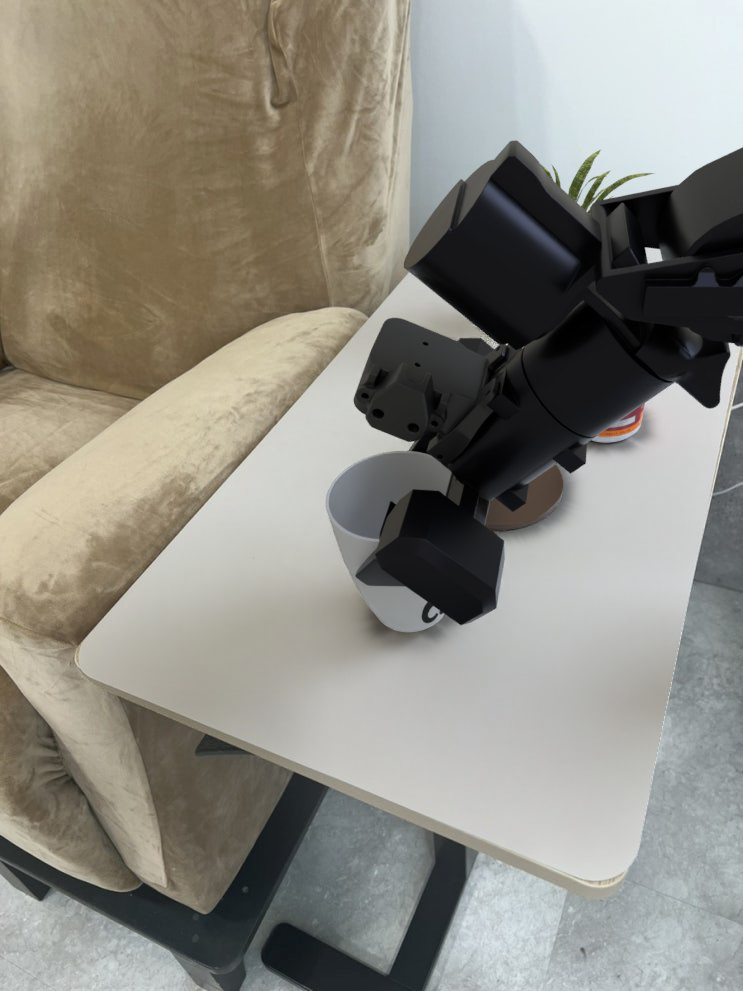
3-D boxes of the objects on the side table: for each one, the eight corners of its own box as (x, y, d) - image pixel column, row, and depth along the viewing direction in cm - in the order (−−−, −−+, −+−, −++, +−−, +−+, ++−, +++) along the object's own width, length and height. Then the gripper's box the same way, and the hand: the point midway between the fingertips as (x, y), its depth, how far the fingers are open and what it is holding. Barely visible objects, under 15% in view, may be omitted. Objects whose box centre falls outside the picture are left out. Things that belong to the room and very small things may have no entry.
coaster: (565, 450, 64) (565, 445, 63) (560, 535, 56) (560, 530, 56) (446, 444, 66) (445, 440, 66) (426, 525, 59) (426, 520, 58)
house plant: (625, 283, 83) (643, 123, 73) (645, 349, 73) (670, 176, 63) (493, 290, 86) (491, 136, 75) (494, 356, 75) (493, 189, 65)
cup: (446, 665, 48) (432, 554, 41) (332, 633, 51) (301, 526, 44) (486, 572, 53) (479, 461, 47) (380, 549, 56) (359, 442, 50)
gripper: (471, 204, 42) (319, 370, 53) (396, 399, 29) (213, 570, 39) (610, 331, 45) (441, 465, 56) (600, 559, 32) (380, 680, 42)
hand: (378, 531), depth 48 cm, fingers closed on cup, 8 cm apart
